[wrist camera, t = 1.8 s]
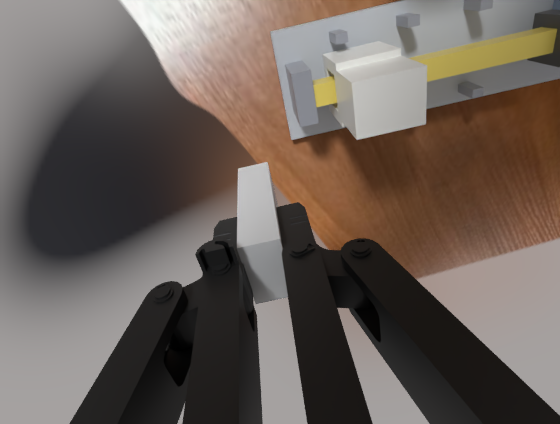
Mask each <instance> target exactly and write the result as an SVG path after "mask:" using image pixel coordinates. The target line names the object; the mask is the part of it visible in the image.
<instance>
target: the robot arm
mask: <svg viewBox="0 0 560 424" xmlns="http://www.w3.org/2000/svg"><path fill="white" fill-rule="evenodd" d="M237 208H238V209H237V217H235V218H230V219H226V220H222V221H219V223H218V224H217V225H216V227H215V228H214V237H213V240H212V241H209V242H207V243H205V244H204V245H202V246H201V247H200V248H199V249H198V250H197V252H196V257H197V260H198V262H199V264H200V267H201V269H202V271H203V276H202V277H201V278H200V279H199V280H197V281H195V282H194V283H191V284H189V285H187V286H185V287H182V285H181V284H179V283H178V282H173V281H170V282H165V283H162V284H160V285H158V286H156V287H155V288H153V289H152V290H151V291H150V292H149V293H148V294H147V296H146V297H145V299H144V301H143V302H142V304H141V306H140V307H139V309H138V311H137V312H136V314H135V316H134V317H133V319H132V321H131V322H130V324H129V326H128V327H127V329H126V331H125V332H124V334H123V336H122V337H121V339H120V341H119V342H118V344H117V346H116V347H115V349H114V351H113V352H112V354H111V356H110V357H109V359H108V361H107V362H106V364H105V366H104V367H103V369H102V371H101V372H100V374H99V376H98V377H97V379H96V381H95V382H94V384H93V386H92V387H91V389H90V391H89V392H88V394H87V395H86V397H85V399H84V401H83V402H82V404H81V406H80V407H79V409H78V410H77V412H76V414H75V415H74V417H73V419H72V420H71V422H70V424H177V423H178V420H179V417H180V415H181V412H182V409H183V406H184V403H185V409H184V417H183V424H262V405H261V386H260V367H259V350H258V330H257V315H256V311H255V308H254V305H253V297H254V300H255V303H256V304H258V303H263V302H268V301H272V300H276V299H281V298H286V297H288V300H289V307H290V313H291V319H292V325H293V332H294V339H295V345H296V352H297V358H298V364H299V371H300V378H301V384H302V391H303V397H304V404H305V410H306V416H307V423H308V424H372V420H371V417H370V414H369V410H368V407H367V404H366V401H365V398H364V394H363V391H362V388H361V384H360V382H359V378H358V375H357V371H356V368H355V365H354V362H353V358H352V355H351V352H350V349H349V345H348V342H347V339H346V336H345V332H344V329H343V326H342V323H341V319H340V316H339V313H338V309H337V308H349V310H350V312H351V314H352V315H353V316H354V318H355V319H356V321H357V322H358V323H359V325H360V326H361V328H362V329H363V330H364V332H365V333H366V335H367V336H368V337H369V339H370V340H371V342H372V343H373V344H374V346H375V347H376V349H377V350H378V352H379V353H380V354H381V356H382V357H383V359H384V360H385V361H386V363H387V364H388V365H389V367H390V368H391V370H392V371H393V372H394V374H395V375H396V377H397V378H398V380H399V381H400V382H401V384H402V385H403V387H404V388H405V389H406V390H407V392H408V394H409V395H410V396H411V398H412V399H413V401H414V402H415V404H416V405H417V406H418V408H419V409H420V410H421V412H422V413H423V415H424V416H425V418H426V419H427V420H428V422H429V423H430V424H560V416H559V415H558V414H557V413H556V412H555V411H554V410H553V409H552V408H551V407H550V406H549V405H548V404H547V403H546V402H545V401H544V400H542V398H540V397H539V396H538V395H537V394H536V393H535V392H534V391H533V390H532V389H531V388H530V387H529V386H528V385H527V384H526V383H524V381H522V380H521V379H520V378H519V377H518V376H517V375H516V374H515V373H514V372H513V371H512V370H511V369H510V368H509V367H508V366H507V365H506V364H505V363H503V362H502V361H501V360H500V359H499V358H498V357H497V356H496V355H495V354H494V353H493V352H492V351H491V350H490V349H489V348H488V347H487V346H485V344H483V343H482V342H481V341H480V340H479V339H478V338H477V337H476V336H475V335H474V334H473V333H472V332H471V331H470V330H469V329H468V328H467V327H466V326H464V325H463V324H462V323H461V322H460V321H459V320H458V319H457V318H456V317H455V316H454V315H453V314H452V313H451V312H450V311H449V310H447V308H445V307H444V306H443V305H442V304H441V303H440V302H439V301H438V300H437V299H436V298H435V297H434V296H433V295H432V294H431V293H430V292H428V290H426V289H425V288H424V287H423V286H422V285H421V284H420V283H419V282H418V281H417V280H416V279H415V278H414V277H413V276H412V275H411V274H410V273H409V272H407V271H406V270H405V269H404V268H403V267H402V266H401V265H400V264H399V263H398V262H397V261H396V260H395V259H394V258H393V257H392V256H391V255H390V254H388V253H387V252H386V251H385V250H384V249H383V248H382V247H381V246H380V245H379V244H378V243H376V242H375V241H373V240H370V239H354V240H351V241H349V242H347V243H345V244H344V246H343V247H342V248H341V250H327V249H324V248H322V247H320V246H319V245H317V244H316V242H315V239H314V236H313V233H312V229H311V226H310V223H309V220H308V216H307V213H306V210H305V207H304V206H302V205H301V204H300V203H298V202H297V203H293V204H289V205H284V206H280V207H278V204H277V199H276V195H275V191H274V187H273V183H272V179H271V175H270V170H269V166H268V162H265V163H261V164H257V165H253V166H248V167H244V168H239V169H238V207H237ZM185 401H186V402H185Z"/></svg>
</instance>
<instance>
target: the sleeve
mask: <svg viewBox="0 0 560 424" xmlns="http://www.w3.org/2000/svg"><path fill="white" fill-rule="evenodd" d="M322 55H323V63H324V70H325V78H326V77H330V76H334V79H335V88H336V96H337V103H334V104H329V110H330V112H331V113H332V114H333V115H334V117H335V118H336V119H337V121H338V122H339V123H340V125H341V126H342V127H345V126H346V127H347V128H348V130H349V131H350V132H351V133H352V135H353V136H354V137H355V138H356V140H359V139H364V138H368V137H372V136H377V135H381V134H385V133H390V132H394V131H399V130H403V129H407V128H412V127H416V126H421V125H425V124H426V99H427V65H425V64H422V63H420V62H417V61H414V60H412V59H409V58H406V57H404V56H401V48H398V47H395V46H392V45H389V44H386V43H383V42H380V41H377V42H373V43H368V44H364V45H360V46H356V47H351V48H347V49H343V50H339V51H334V52H330V53H326V54H322Z"/></svg>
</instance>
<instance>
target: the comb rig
mask: <svg viewBox="0 0 560 424" xmlns="http://www.w3.org/2000/svg"><path fill="white" fill-rule="evenodd" d="M270 34H271V39H272V45H273V50H274V55H275V60H276V65H277V70H278V75H279V80H280V85H281V91H282V96H283V101H284V106H285V111H286V116H287V121H288V126H289V131H290V137H291V140H294V139H298V138H303V137H307V136H312V135H316V134H320V133H325V132H329V131H333V130H338V129H342V128H347V127H346V126H345V127H342V126H341V125H340V123H339V122H338V121H337V119H336V118H335V117H334V115H333V114H332V113H331V112H330V110H329V104H334V103H337V96H336V88H335V79H334V76H330V77H326V78H325V70H324V63H323V55H322V54H326V53H330V52H334V51H339V50H343V49H347V48H351V47H356V46H360V45H364V44H368V43H373V42H377V41H380V42H383V43H386V44H389V45H392V46H395V47H398V48H401V56H404V57H406V58H409V59H412V60H414V61H417V62H420V63H422V64H425V65H427V99H426V109H429V108H434V107H438V106H442V105H447V104H451V103H455V102H460V101H464V100H468V99H473V98H477V97H482V96H486V95H490V94H495V93H499V92H503V91H508V90H512V89H516V88H521V87H525V86H530V85H534V84H538V83H543V82H547V81H551V80H556V79H560V0H400V1H396V2H392V3H388V4H383V5H379V6H375V7H371V8H367V9H362V10H358V11H354V12H350V13H346V14H341V15H337V16H333V17H329V18H325V19H320V20H316V21H312V22H308V23H304V24H299V25H295V26H291V27H287V28H283V29H278V30H274V31H270Z"/></svg>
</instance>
